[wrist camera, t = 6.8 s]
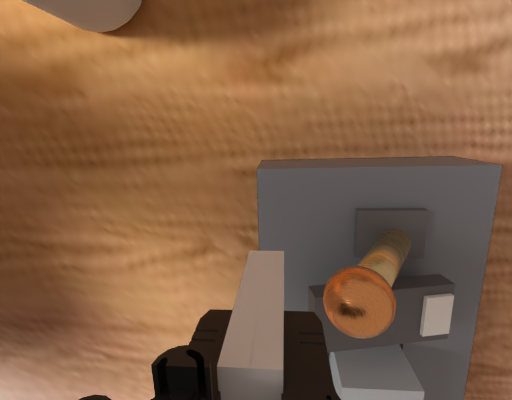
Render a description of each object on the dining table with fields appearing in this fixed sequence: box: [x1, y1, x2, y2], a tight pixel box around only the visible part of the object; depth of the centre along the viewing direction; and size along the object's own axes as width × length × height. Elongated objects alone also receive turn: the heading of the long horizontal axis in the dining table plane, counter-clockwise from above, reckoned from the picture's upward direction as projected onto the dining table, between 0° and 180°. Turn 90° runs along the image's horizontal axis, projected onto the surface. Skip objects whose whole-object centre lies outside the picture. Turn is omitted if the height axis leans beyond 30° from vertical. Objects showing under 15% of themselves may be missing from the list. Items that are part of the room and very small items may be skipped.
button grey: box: [328, 344, 424, 400], centre depth 20 cm, size 4×4×6 cm
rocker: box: [308, 274, 455, 353], centre depth 17 cm, size 8×4×2 cm, turn 92°
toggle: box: [323, 228, 411, 339], centre depth 14 cm, size 3×3×9 cm
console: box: [257, 156, 503, 400], centre depth 22 cm, size 14×24×6 cm, turn 2°
